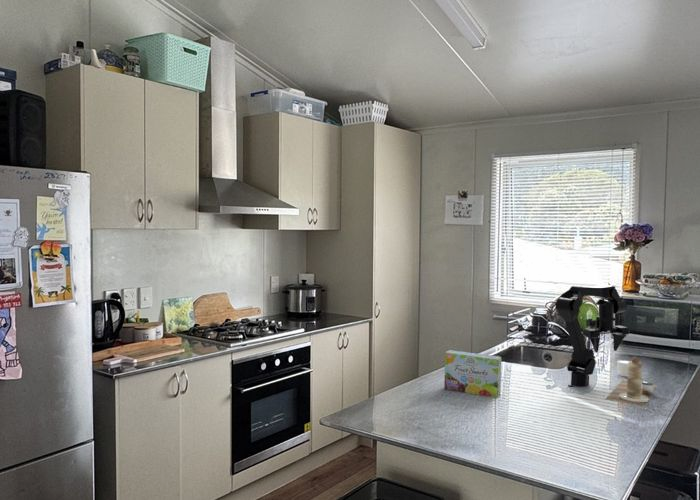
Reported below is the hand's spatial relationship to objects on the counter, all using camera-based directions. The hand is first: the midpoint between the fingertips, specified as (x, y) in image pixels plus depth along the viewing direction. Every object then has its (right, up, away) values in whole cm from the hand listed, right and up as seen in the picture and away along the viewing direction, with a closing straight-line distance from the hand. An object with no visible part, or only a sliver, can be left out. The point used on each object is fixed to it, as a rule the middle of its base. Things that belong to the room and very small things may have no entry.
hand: (605, 351), depth 243 cm
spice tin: (+8, -13, -18) cm, 24 cm away
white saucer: (-1, -13, -26) cm, 29 cm away
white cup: (+13, -13, +10) cm, 21 cm away
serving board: (+3, -14, -17) cm, 22 cm away
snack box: (-60, -13, -18) cm, 64 cm away
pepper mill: (-1, -13, -26) cm, 29 cm away
